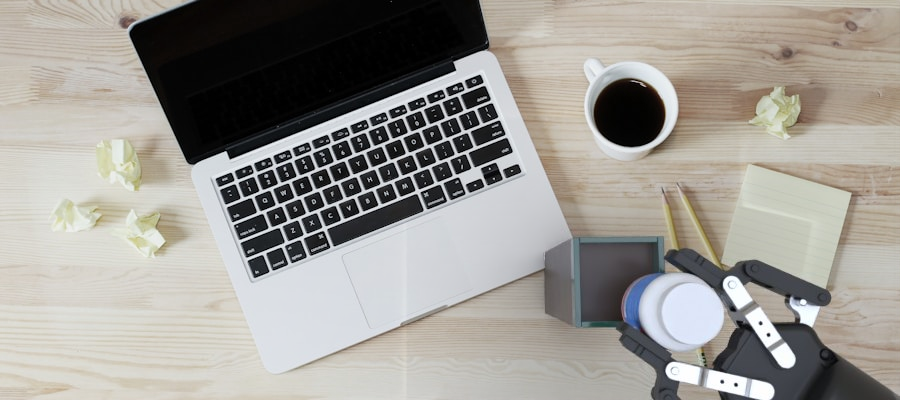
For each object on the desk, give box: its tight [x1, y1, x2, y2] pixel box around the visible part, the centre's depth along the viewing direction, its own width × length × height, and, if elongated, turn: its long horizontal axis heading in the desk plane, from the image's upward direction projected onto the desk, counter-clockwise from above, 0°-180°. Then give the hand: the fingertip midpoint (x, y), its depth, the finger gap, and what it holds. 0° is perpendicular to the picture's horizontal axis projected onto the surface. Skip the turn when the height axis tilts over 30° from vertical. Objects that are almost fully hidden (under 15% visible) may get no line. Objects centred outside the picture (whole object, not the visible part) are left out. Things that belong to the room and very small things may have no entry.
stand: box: [543, 238, 653, 327], centre depth 74 cm, size 7×7×27 cm
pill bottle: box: [622, 271, 725, 353], centre depth 52 cm, size 6×5×10 cm
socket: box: [570, 235, 666, 329], centre depth 60 cm, size 7×7×2 cm
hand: (645, 290), depth 51 cm, fingers closed on pill bottle, 5 cm apart
